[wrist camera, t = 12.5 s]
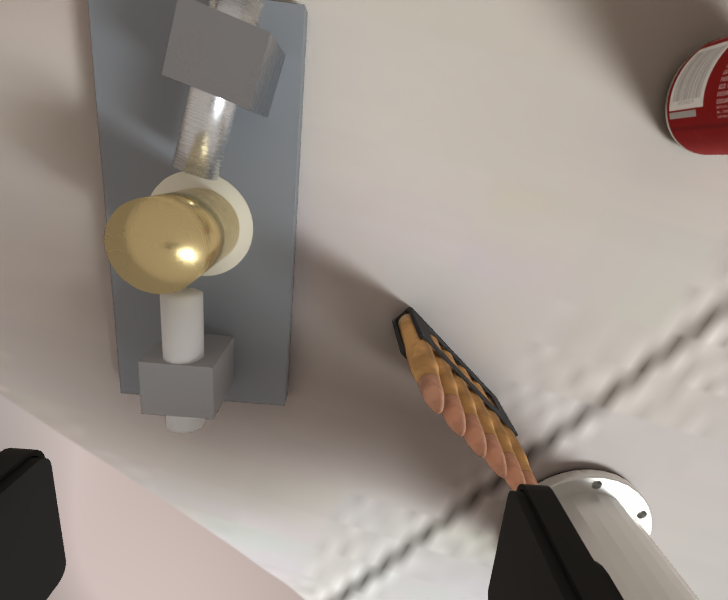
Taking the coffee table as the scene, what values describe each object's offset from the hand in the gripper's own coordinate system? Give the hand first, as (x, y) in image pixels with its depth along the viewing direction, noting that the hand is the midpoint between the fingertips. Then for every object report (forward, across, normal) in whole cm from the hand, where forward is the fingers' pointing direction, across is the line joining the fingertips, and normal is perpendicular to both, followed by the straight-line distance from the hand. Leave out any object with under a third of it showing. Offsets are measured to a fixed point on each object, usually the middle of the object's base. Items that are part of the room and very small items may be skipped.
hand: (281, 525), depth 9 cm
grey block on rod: (+21, +7, -11) cm, 25 cm away
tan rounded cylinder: (+21, +9, -3) cm, 23 cm away
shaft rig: (+22, +9, -3) cm, 25 cm away
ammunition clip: (+24, -8, +6) cm, 26 cm away
